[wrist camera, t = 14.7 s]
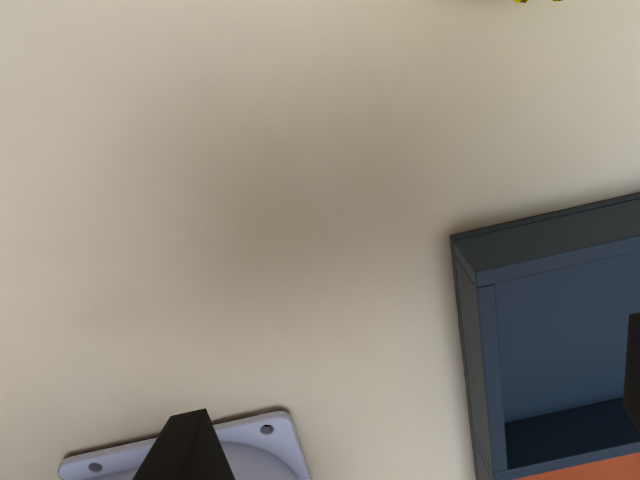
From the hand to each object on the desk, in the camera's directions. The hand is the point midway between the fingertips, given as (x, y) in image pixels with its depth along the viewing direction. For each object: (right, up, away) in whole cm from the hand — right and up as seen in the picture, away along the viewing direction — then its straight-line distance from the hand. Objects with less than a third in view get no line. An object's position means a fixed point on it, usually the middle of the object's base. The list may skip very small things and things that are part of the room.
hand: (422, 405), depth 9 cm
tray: (+9, -4, +13) cm, 17 cm away
